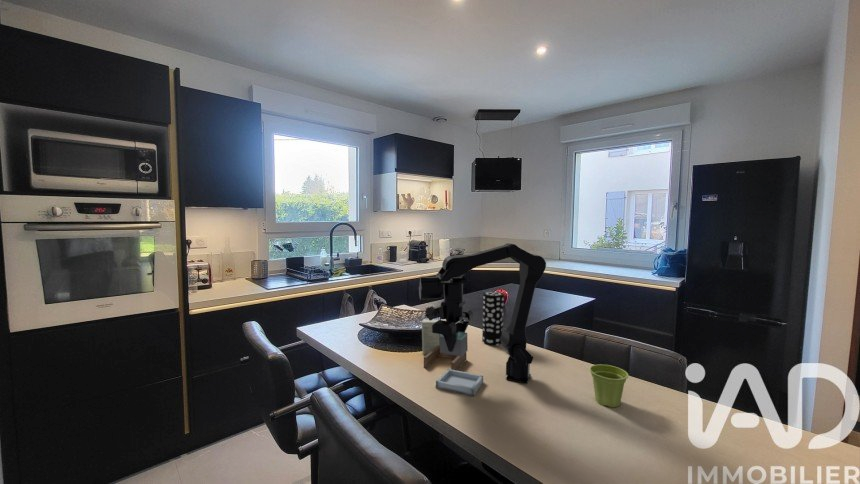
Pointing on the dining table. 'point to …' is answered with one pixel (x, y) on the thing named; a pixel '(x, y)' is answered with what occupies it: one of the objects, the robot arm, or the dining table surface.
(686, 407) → the dining table surface
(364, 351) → the dining table surface
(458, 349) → the teal rectangular block
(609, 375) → the plant pot
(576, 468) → the dining table surface
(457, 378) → the tray
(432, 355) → the bay
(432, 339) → the skincare box
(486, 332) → the spotted tube
